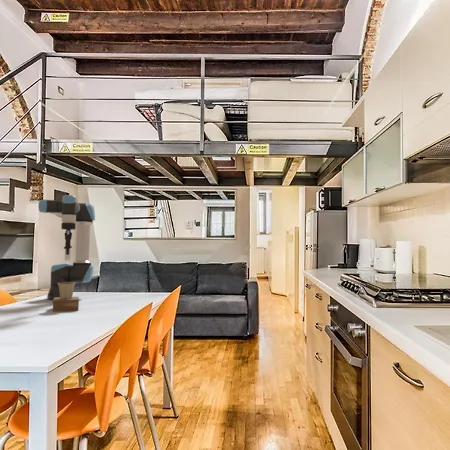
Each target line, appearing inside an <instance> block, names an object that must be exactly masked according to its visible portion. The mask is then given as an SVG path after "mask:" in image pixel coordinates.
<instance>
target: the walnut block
mask: <svg viewBox="0 0 450 450" xmlns="http://www.w3.org/2000/svg"><path fill="white" fill-rule="evenodd" d="M79 301H80V298H79V296H72V298H71V299H60V297H55V298H54V300H52V312H54V313H55V312H77V311H79Z"/></svg>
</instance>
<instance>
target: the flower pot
mask: <svg viewBox="0 0 450 450" xmlns="http://www.w3.org/2000/svg"><path fill="white" fill-rule="evenodd" d="M58 285H59V291H60V299H71V298H72V297H73V293H74V288H75V285H76V283H71V282H65V283H58Z"/></svg>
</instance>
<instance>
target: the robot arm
mask: <svg viewBox="0 0 450 450" xmlns="http://www.w3.org/2000/svg"><path fill="white" fill-rule="evenodd" d="M61 197H62V199H60V200H59V199H56V200H55V199H40V200H39V202H38V211H39V213H44V214H47V213H48V214H51V215H52V214H53V215H55V216H56V217H57V218H60V219H61V225H60V226H61V230H65V232H64V240H65V245H64V247H63V249H64V261H65V262H67V261H68V262H67V263H58V264H53V265H52V266H51V268H50V286H49V290H48V293H47V295H46V297H47V298H46V299H47V300H52V301H53V300H54V298H55V297H60V291H59V285H58V283H65V282H71V283H77V284H78V283H83V284H84V283H90V282H91V281H92V278H93V274H94V265H93V264H92V261H90V236H91V225H92V224H93V222H94V221H95V220H96V213H95V206H94V205H93V203H87V202H86V203H84V202H78V200H77V196H76V195H71V194H64V195H62V196H61ZM71 230H76V236H75V237H76V241H75V243H76V245H75V260H74V261H73V263H72V264H70V263H69V261H71V252H72V251H71V249H72V248H73V246H71V241H72V237H73V233H72V231H71Z"/></svg>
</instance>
